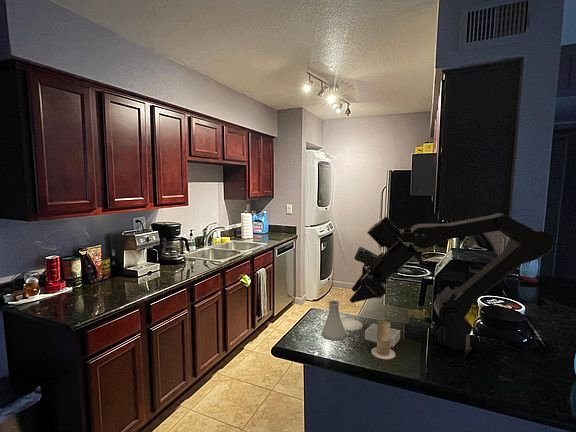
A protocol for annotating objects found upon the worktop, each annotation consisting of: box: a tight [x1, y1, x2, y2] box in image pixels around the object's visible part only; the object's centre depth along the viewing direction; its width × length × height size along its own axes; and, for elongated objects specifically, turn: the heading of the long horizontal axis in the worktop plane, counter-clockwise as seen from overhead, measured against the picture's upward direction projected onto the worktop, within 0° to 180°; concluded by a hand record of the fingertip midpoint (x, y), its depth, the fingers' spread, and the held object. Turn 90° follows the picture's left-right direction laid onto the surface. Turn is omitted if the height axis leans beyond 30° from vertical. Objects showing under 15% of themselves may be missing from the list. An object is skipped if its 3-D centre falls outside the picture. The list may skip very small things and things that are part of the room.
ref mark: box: [370, 346, 396, 360], centre depth 80 cm, size 6×6×1 cm
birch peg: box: [376, 319, 391, 356], centre depth 80 cm, size 3×3×8 cm
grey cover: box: [364, 322, 401, 348], centre depth 87 cm, size 8×6×3 cm
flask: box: [321, 299, 347, 341], centre depth 90 cm, size 7×7×10 cm
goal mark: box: [341, 318, 363, 331], centre depth 97 cm, size 8×8×1 cm
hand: (351, 295), depth 88 cm, fingers open, 9 cm apart
